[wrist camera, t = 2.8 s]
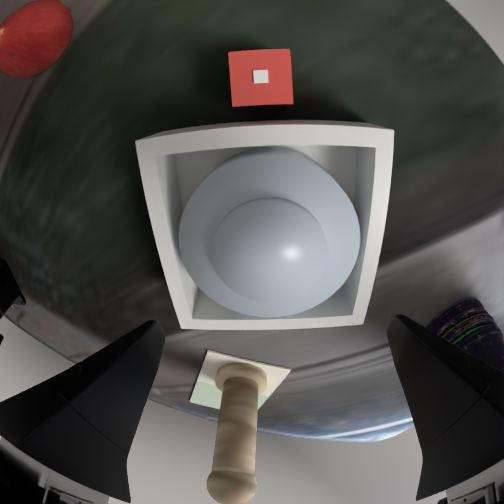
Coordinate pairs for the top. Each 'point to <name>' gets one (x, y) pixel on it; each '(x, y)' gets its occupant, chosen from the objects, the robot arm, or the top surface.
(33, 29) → the onion
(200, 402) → the game track
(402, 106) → the top surface
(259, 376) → the beech pawn
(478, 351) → the dark blue cylinder
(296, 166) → the dome button
